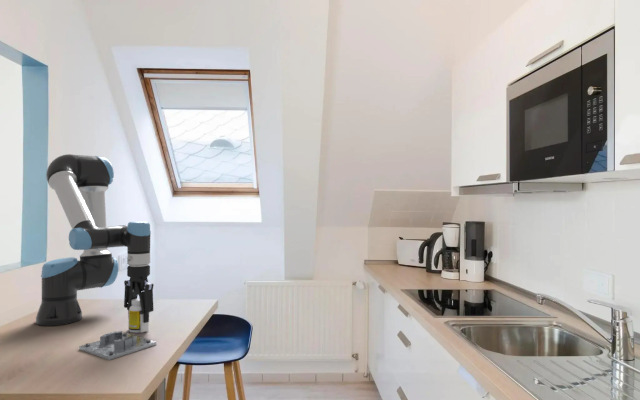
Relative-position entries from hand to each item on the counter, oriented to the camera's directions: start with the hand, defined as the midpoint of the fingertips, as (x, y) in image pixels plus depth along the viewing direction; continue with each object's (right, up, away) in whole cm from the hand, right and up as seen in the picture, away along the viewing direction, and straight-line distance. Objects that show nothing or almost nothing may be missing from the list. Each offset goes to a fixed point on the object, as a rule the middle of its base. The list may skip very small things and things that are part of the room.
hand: (138, 329), depth 154 cm
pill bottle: (0, -1, 0) cm, 1 cm away
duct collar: (+1, 0, -17) cm, 17 cm away
